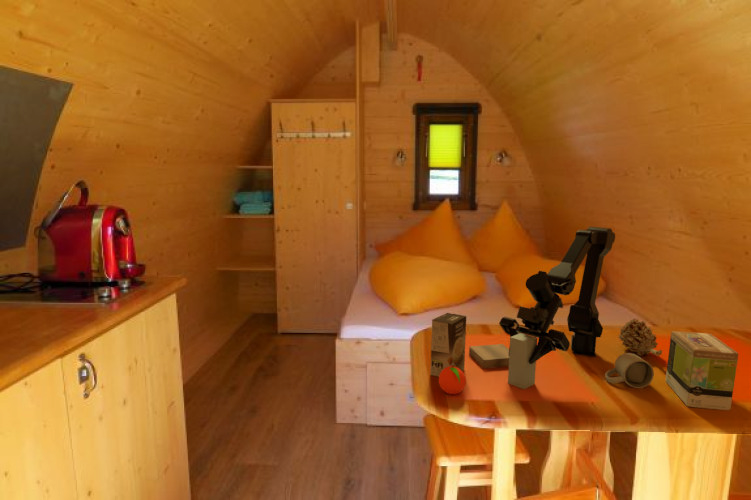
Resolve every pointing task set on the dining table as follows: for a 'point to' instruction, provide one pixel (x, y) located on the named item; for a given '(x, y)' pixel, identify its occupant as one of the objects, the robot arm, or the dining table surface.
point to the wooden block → (521, 361)
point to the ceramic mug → (631, 371)
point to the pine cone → (639, 338)
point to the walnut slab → (490, 355)
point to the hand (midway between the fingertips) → (519, 359)
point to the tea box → (701, 370)
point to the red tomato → (452, 380)
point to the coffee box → (448, 342)
